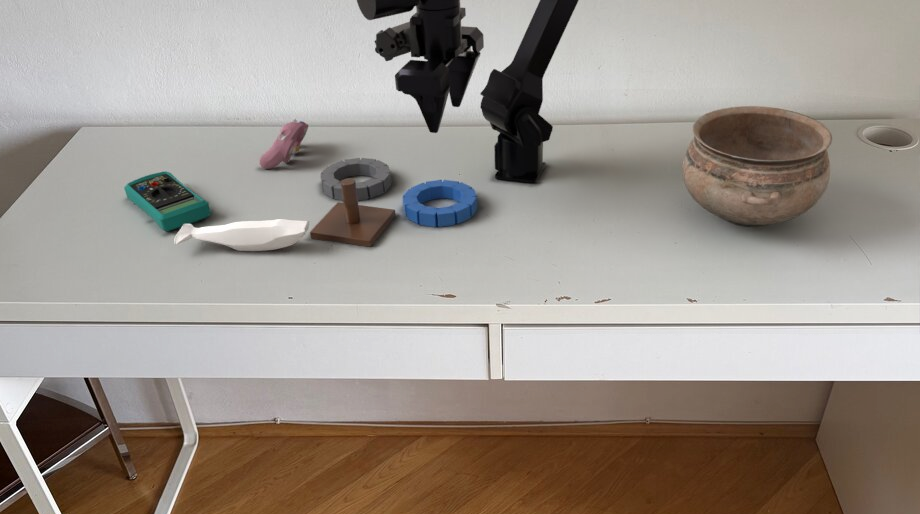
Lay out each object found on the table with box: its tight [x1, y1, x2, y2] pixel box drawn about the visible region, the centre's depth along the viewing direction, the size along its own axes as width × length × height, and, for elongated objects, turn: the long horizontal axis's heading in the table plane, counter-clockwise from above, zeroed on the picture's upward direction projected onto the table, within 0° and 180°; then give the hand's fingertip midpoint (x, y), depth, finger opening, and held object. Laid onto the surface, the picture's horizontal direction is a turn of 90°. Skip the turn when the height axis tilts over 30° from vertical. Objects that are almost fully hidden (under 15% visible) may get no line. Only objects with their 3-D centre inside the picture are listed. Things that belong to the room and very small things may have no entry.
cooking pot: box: [681, 105, 833, 228], centre depth 118 cm, size 25×19×12 cm
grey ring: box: [320, 157, 393, 201], centre depth 133 cm, size 10×10×2 cm
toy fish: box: [173, 218, 310, 252], centre depth 118 cm, size 6×18×4 cm, turn 85°
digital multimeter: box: [123, 171, 212, 232], centre depth 129 cm, size 7×15×3 cm, turn 39°
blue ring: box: [402, 179, 478, 228], centre depth 126 cm, size 10×10×2 cm
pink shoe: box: [258, 118, 309, 170], centre depth 140 cm, size 10×5×7 cm, turn 168°
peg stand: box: [309, 177, 397, 248], centre depth 121 cm, size 9×9×7 cm
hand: (445, 119), depth 122 cm, fingers open, 9 cm apart
